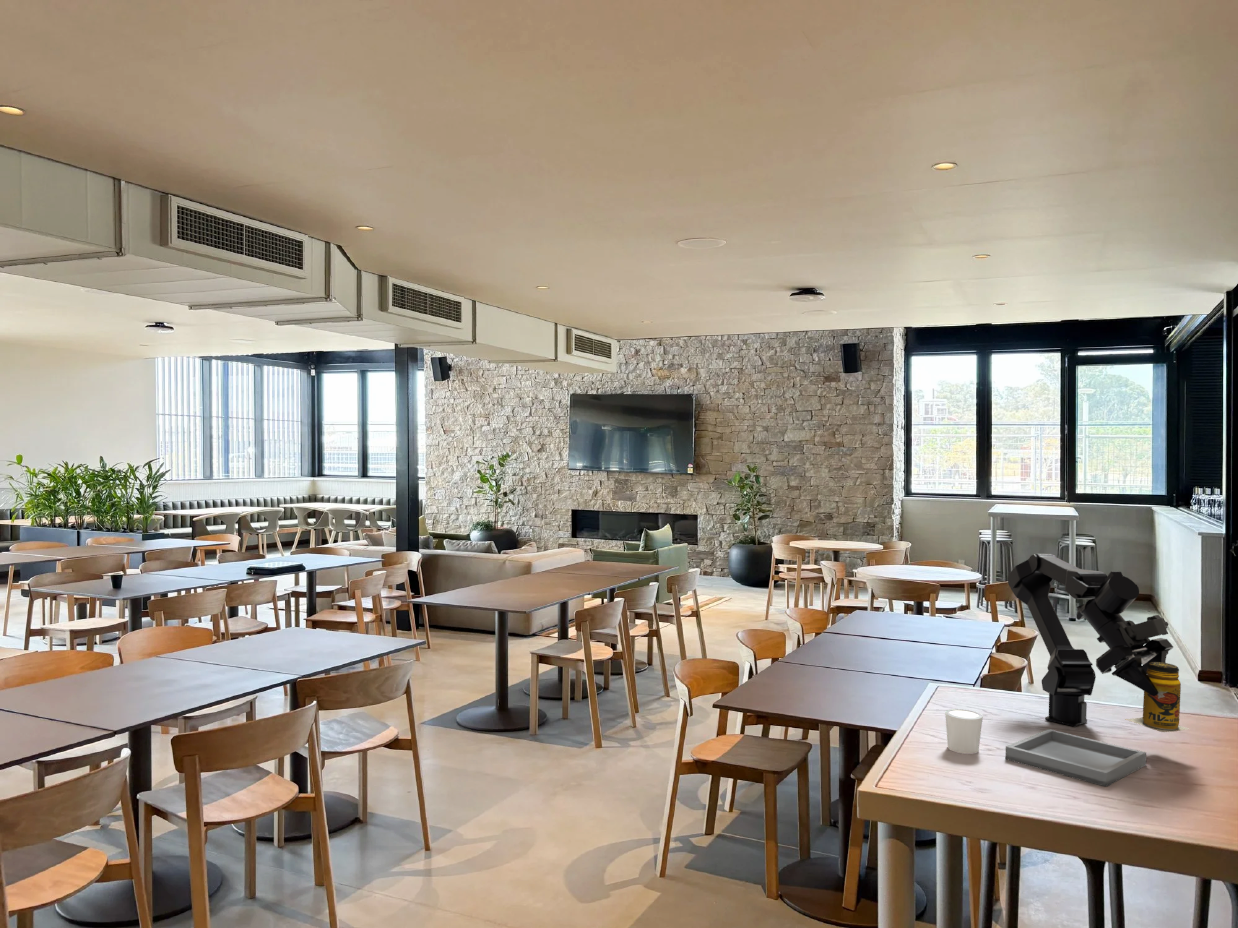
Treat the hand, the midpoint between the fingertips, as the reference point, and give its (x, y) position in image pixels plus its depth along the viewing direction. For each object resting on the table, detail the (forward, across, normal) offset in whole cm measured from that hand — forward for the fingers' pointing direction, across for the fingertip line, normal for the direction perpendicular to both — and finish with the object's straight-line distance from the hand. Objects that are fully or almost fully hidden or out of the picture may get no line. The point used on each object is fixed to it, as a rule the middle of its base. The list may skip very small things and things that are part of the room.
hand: (1165, 692), depth 174 cm
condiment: (+4, 0, +6) cm, 7 cm away
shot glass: (-7, -30, +25) cm, 40 cm away
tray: (+4, -18, +14) cm, 23 cm away
